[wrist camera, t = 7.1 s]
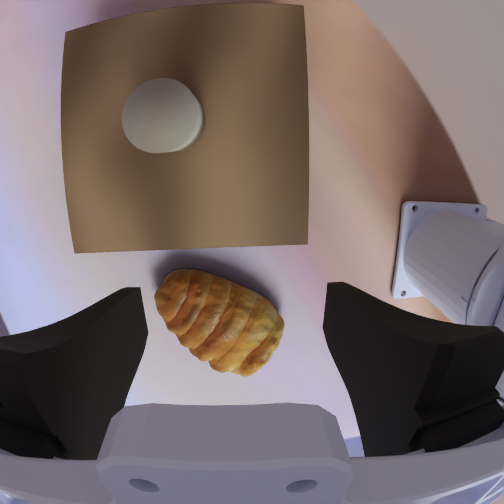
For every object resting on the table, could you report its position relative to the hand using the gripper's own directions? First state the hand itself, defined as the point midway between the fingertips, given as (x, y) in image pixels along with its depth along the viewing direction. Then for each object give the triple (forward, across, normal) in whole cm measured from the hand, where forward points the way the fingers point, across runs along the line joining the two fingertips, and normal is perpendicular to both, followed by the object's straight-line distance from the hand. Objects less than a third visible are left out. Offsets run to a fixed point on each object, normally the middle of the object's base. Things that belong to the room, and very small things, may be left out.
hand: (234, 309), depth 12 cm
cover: (+10, +3, -7) cm, 13 cm away
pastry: (+11, +1, +7) cm, 13 cm away
